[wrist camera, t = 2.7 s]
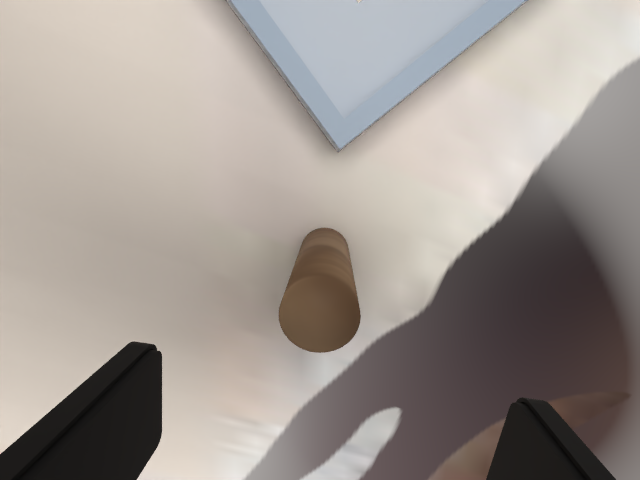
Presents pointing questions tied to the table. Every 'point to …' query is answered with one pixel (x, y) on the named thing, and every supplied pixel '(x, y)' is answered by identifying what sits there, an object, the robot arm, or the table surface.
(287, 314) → the walnut peg
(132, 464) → the robot arm
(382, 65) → the slate box
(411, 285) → the table surface
